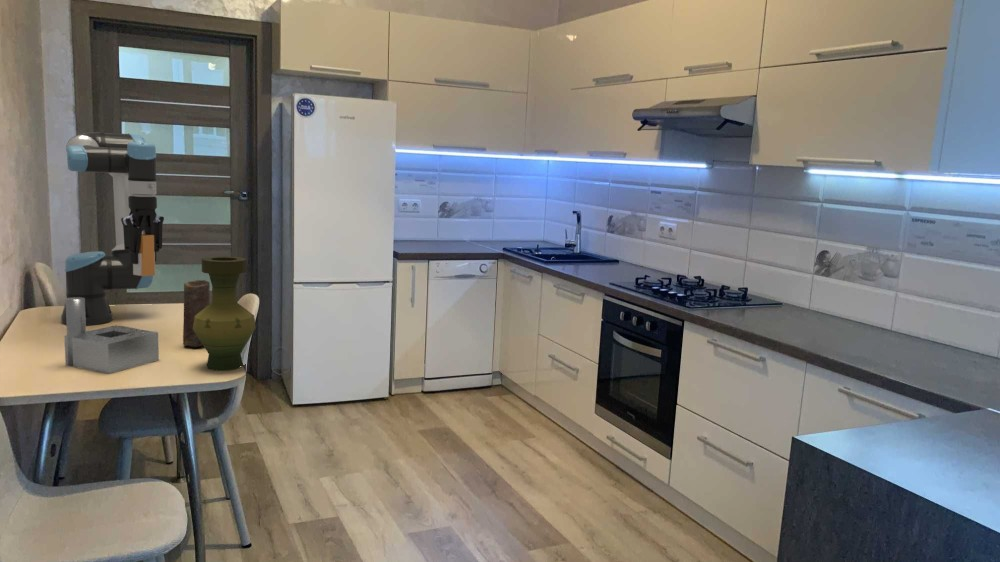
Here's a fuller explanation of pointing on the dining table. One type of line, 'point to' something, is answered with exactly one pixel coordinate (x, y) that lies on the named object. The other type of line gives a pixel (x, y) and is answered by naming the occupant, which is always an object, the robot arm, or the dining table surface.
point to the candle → (194, 308)
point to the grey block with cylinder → (105, 343)
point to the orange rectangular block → (147, 255)
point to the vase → (224, 315)
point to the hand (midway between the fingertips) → (144, 273)
